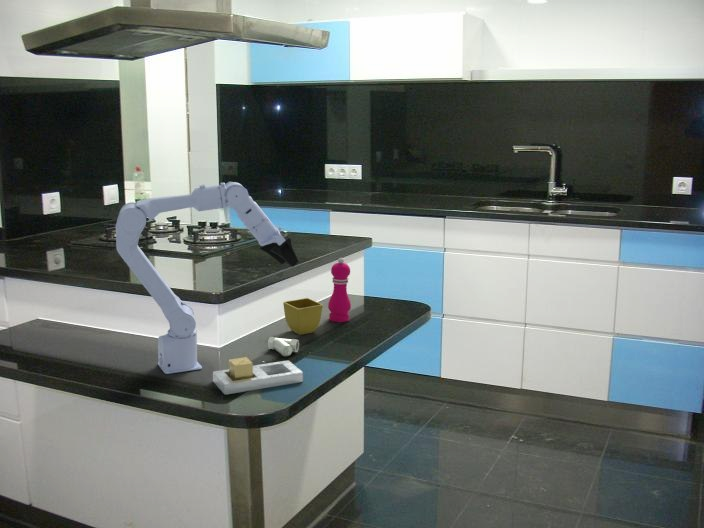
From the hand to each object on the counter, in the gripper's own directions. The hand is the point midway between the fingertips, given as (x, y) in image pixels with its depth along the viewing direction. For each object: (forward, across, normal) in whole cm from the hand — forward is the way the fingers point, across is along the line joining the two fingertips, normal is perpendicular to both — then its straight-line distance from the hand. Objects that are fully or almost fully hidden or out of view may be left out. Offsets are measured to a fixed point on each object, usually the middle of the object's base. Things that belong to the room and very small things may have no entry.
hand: (290, 262), depth 188 cm
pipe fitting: (+21, +10, +16) cm, 28 cm away
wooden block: (+12, -8, +30) cm, 34 cm away
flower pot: (+26, +24, +5) cm, 36 cm away
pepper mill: (+35, +32, -8) cm, 48 cm away
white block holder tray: (+15, -7, +27) cm, 31 cm away
